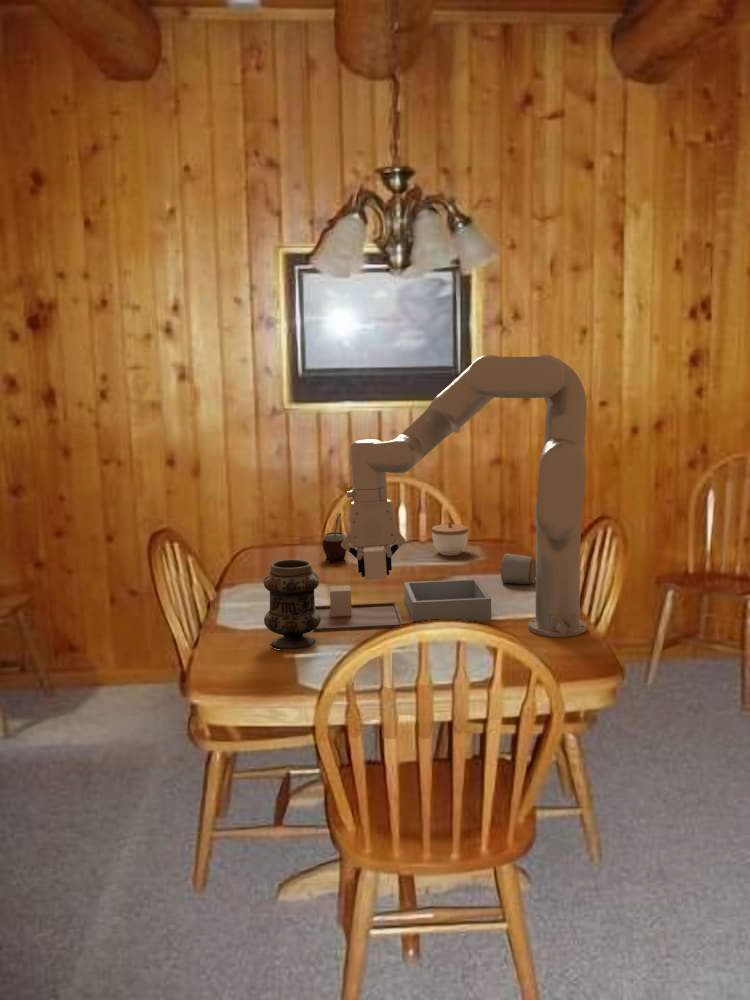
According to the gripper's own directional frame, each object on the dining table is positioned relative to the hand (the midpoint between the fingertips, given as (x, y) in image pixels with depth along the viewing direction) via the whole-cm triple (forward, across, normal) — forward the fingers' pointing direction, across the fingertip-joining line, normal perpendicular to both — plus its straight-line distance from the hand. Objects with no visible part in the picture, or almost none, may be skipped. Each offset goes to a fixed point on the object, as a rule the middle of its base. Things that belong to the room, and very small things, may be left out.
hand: (375, 573), depth 221 cm
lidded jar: (+12, +27, +67) cm, 73 cm away
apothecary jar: (+11, -19, -12) cm, 25 cm away
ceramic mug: (+13, +39, +31) cm, 52 cm away
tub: (+12, +17, +8) cm, 22 cm away
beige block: (+1, 0, 0) cm, 1 cm away
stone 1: (+11, -8, +8) cm, 16 cm away
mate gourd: (+11, -7, +63) cm, 64 cm away
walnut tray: (+11, -5, +4) cm, 13 cm away
